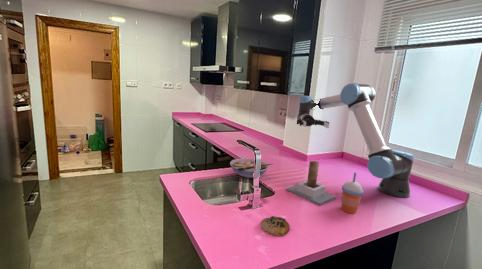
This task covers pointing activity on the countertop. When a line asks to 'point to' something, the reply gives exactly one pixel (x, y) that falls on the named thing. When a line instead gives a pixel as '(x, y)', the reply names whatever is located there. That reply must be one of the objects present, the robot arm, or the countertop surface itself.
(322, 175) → the countertop surface
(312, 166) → the peg
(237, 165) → the ramen bowl
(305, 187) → the socket
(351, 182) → the cup with straw
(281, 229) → the bread roll
